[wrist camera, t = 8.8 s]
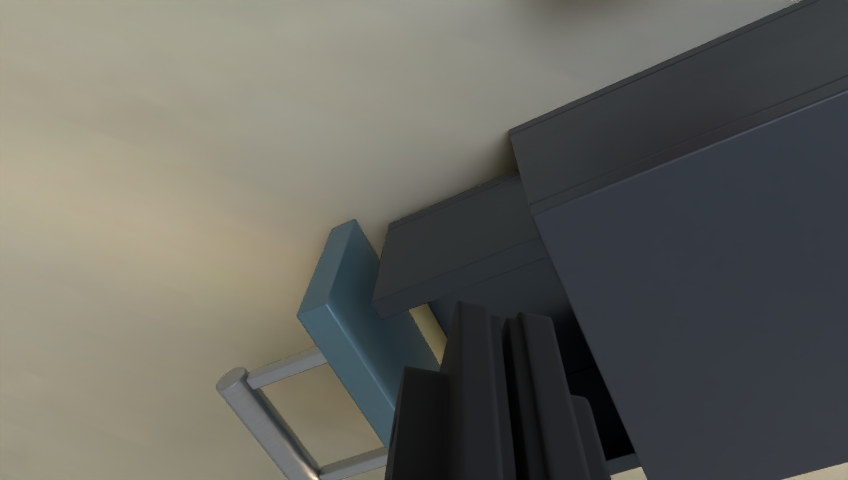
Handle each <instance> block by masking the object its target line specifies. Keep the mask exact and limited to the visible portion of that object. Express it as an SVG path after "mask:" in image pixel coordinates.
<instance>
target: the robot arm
mask: <svg viewBox="0 0 848 480" xmlns="http://www.w3.org/2000/svg"><path fill="white" fill-rule="evenodd" d="M385 480H611V477H610V474H609V470H608V466H607V463H606V459H605V456H604V452H603V449H602V445H601V442H600V438H599V434H598V431H597V427H596V424H595V420H594V417H593V413H592V410H591V406H590V404H589V402H588V400H587V399H586V398H585V397H581V396H575V395H570V392H569V388H568V384H567V379H566V375H565V371H564V367H563V363H562V359H561V355H560V351H559V347H558V343H557V339H556V334H555V330H554V326H553V322H552V319H551V318H550V317H548V316H542V315H536V314H531V313H525V312H519V313H518V314H517V316H516V319H513V318H508V317H507V318H506V320H505V322H504V325H503V328H502V331H500V322H499V316H496V315H491V314H489V307H488V306H486V305H481V304H475V303H470V302H464V301H457V303H456V306H455V310H454V314H453V318H452V322H451V326H450V330H449V334H448V338H447V342H446V347H445V351H444V355H443V359H442V363H441V367H440V371H439V372H438V371H432V370H426V369H420V368H415V367H409V366H404V369H403V373H402V378H401V382H400V387H399V392H398V397H397V402H396V407H395V412H394V418H393V424H392V430H391V436H390V443H389V450H388V458H387V465H386V473H385Z"/></svg>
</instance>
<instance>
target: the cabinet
mask: <svg viewBox="0 0 848 480" xmlns="http://www.w3.org/2000/svg"><path fill="white" fill-rule="evenodd" d="M509 134H510V138H511V142H512V146H513V149H514V153H515V157H516V161H517V165H518V168H519V172H520V176H521V180H522V184H523V187H524V191H525V195H526V199H527V203H528V206H529V210H530V214H531V218H532V220H533V222H534V224H535V227H536V229H537V231H538V233H539V236H540V238H541V240H542V242H543V245H544V247H545V249H546V252H547V254H548V256H549V258H550V261H551V263H552V265H553V267H554V270H555V272H556V274H557V276H558V279H559V281H560V283H561V285H562V288H563V290H564V292H565V294H566V297H567V299H568V301H569V304H570V306H571V308H572V310H573V313H574V315H575V317H576V319H577V322H578V324H579V326H580V328H581V331H582V333H583V335H584V337H585V340H586V342H587V344H588V346H589V349H590V351H591V353H592V356H593V358H594V360H595V362H596V365H597V367H598V369H599V371H600V374H601V376H602V378H603V380H604V383H605V385H606V387H607V389H608V392H609V394H610V396H611V398H612V401H613V403H614V405H615V408H616V410H617V412H618V414H619V417H620V419H621V421H622V423H623V426H624V428H625V430H626V432H627V435H628V437H629V439H630V441H631V444H632V446H633V448H634V450H635V453H636V455H637V457H638V460H639V462H640V464H641V466H642V469H643V471H644V473H645V475H646V478H647V480H782V479H786V478H790V477H793V476H797V475H801V474H805V473H808V472H812V471H816V470H820V469H824V468H827V467H831V466H835V465H839V464H842V463H846V462H848V0H803V1H801V2H799V3H796V4H794V5H792V6H790V7H787V8H785V9H783V10H781V11H778V12H776V13H774V14H771V15H769V16H767V17H765V18H762V19H760V20H758V21H756V22H753V23H751V24H749V25H747V26H744V27H742V28H740V29H737V30H735V31H733V32H731V33H728V34H726V35H724V36H722V37H719V38H717V39H715V40H712V41H710V42H708V43H706V44H703V45H701V46H699V47H697V48H694V49H692V50H690V51H688V52H685V53H683V54H681V55H678V56H676V57H674V58H672V59H669V60H667V61H665V62H663V63H660V64H658V65H656V66H654V67H651V68H649V69H647V70H644V71H642V72H640V73H638V74H635V75H633V76H631V77H629V78H626V79H624V80H622V81H619V82H617V83H615V84H613V85H610V86H608V87H606V88H604V89H601V90H599V91H597V92H595V93H592V94H590V95H588V96H585V97H583V98H581V99H579V100H576V101H574V102H572V103H570V104H567V105H565V106H563V107H560V108H558V109H556V110H554V111H551V112H549V113H547V114H545V115H542V116H540V117H538V118H536V119H533V120H531V121H529V122H526V123H524V124H522V125H520V126H517V127H515V128H513V129H511V130H509Z"/></svg>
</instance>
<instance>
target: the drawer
mask: <svg viewBox="0 0 848 480" xmlns="http://www.w3.org/2000/svg"><path fill="white" fill-rule="evenodd" d="M457 301H464V302H470V303H475V304H481V305H486V306H488V307H489V314H491V315H496V316H499V322H500V331H502V328H503V325H504V322H505V320H506V318H507V317H508V318H513V319H516V316H517V314H518V313H519V312H525V313H531V314H536V315H542V316H548V317H550V318H551V319H552V322H553V326H554V330H555V334H556V339H557V343H558V347H559V351H560V355H561V359H562V363H563V367H564V371H565V375H566V379H567V384H568V388H569V392H570V395H575V396H581V397H585V398H586V399H587V400H588V402H589V404H590V406H591V410H592V413H593V417H594V420H595V424H596V427H597V431H598V434H599V438H600V442H601V445H602V449H603V452H604V456H605V459H606V463H607V466H608V470H609V474H610V475H613V474H617V473H620V472H624V471H627V470H631V469H634V468H638V467H641V464H640V462H639V460H638V457H637V455H636V453H635V450H634V448H633V446H632V444H631V441H630V439H629V437H628V435H627V432H626V430H625V428H624V426H623V423H622V421H621V419H620V417H619V414H618V412H617V410H616V408H615V405H614V403H613V401H612V398H611V396H610V394H609V392H608V389H607V387H606V385H605V383H604V380H603V378H602V376H601V374H600V371H599V369H598V367H597V365H596V362H595V360H594V358H593V356H592V353H591V351H590V349H589V346H588V344H587V342H586V340H585V337H584V335H583V333H582V331H581V328H580V326H579V324H578V322H577V319H576V317H575V315H574V313H573V310H572V308H571V306H570V304H569V301H568V299H567V297H566V294H565V292H564V290H563V288H562V285H561V283H560V281H559V279H558V276H557V274H556V272H555V270H554V267H553V265H552V263H551V261H550V258H549V256H548V254H547V252H546V249H545V247H544V245H543V242H542V240H541V238H540V236H539V233H538V231H537V229H536V227H535V224H534V222H533V220H532V218H531V214H530V210H529V206H528V203H527V199H526V195H525V191H524V187H523V184H522V180H521V176H520V172H519V169H517V170H515V171H513V172H510V173H508V174H506V175H503V176H501V177H498V178H496V179H494V180H491V181H489V182H487V183H484V184H482V185H480V186H477V187H475V188H472V189H470V190H468V191H465V192H463V193H461V194H458V195H456V196H454V197H451V198H449V199H446V200H444V201H442V202H439V203H437V204H435V205H432V206H430V207H427V208H425V209H423V210H420V211H418V212H416V213H413V214H411V215H409V216H406V217H404V218H401V219H399V220H397V221H394V222H392V223H390V224H389V226H388V231H387V234H386V238H385V243H384V247H383V251H382V256H381V260H380V261H379V259H378V257H377V255H376V254H375V252H374V250H373V249H372V247H371V245H370V243H369V242H368V240H367V238H366V237H365V235H364V233H363V231H362V230H361V228H360V226H359V225H358V223H357V221H356V220H355V219H354V220H352V221H349V222H347V223H345V224H342V225H340V226H338V227H335V228H333V229H332V231H331V233H330V235H329V238H328V240H327V243H326V245H325V248H324V250H323V252H322V255H321V257H320V260H319V262H318V264H317V267H316V269H315V272H314V274H313V277H312V279H311V281H310V284H309V286H308V289H307V291H306V293H305V296H304V298H303V301H302V303H301V306H300V308H299V310H298V313H297V317H298V319H299V320H300V322H301V323H302V325H303V326H304V328H305V329H306V331H307V332H308V333H309V335H310V336H311V338H312V339H313V341H314V342H315V344H316V345H317V346H316V347H313V348H310V349H308V350H305V351H303V352H300V353H297V354H295V355H292V356H289V357H287V358H284V359H282V360H279V361H276V362H274V363H271V364H268V365H266V366H263V367H261V368H258V369H255V370H253V371H250V372H248V371H247V369H246V368H245V367H242V366H240V367H236V368H234V369H232V370H230V371H229V372H227V373H226V374H225V375H223V376H222V377H221V379H220V380H219V381H218V383H217V385H216V389H217V391H218V392H219V393H220V395H221V396H222V397H223V398H224V400H225V401H226V402H227V403H228V405H229V406H230V407H231V408H232V410H233V411H234V412H235V413H236V415H237V416H238V417H239V418H240V420H241V421H242V422H243V423H244V425H245V426H246V427H247V429H248V430H249V431H250V432H251V434H252V435H253V436H254V437H255V439H256V440H257V441H258V442H259V444H260V445H261V446H262V447H263V449H264V450H265V451H266V452H267V454H268V455H269V456H270V457H271V459H272V460H273V461H274V462H275V464H276V465H277V466H278V467H279V469H280V470H281V471H282V472H283V474H284V475H285V476H286V477H287V479H288V480H341V479H345V478H348V477H351V476H354V475H357V474H360V473H363V472H367V471H370V470H373V469H376V468H379V467H382V466H386V465H387V458H388V450H389V443H390V436H391V430H392V424H393V418H394V412H395V407H396V402H397V397H398V392H399V387H400V382H401V378H402V373H403V369H404V366H409V367H415V368H420V369H426V370H432V371H438V372H439V371H440V367H441V366H440V364H439V362H438V360H437V359H436V357H435V355H434V354H433V352H432V350H431V348H430V347H429V345H428V343H427V342H426V340H425V338H424V336H423V335H422V333H421V331H420V329H419V328H418V326H417V324H416V323H415V321H414V319H413V317H412V316H411V314H410V312H409V311H408V310H409V309H412V308H414V307H417V306H420V305H422V304H425V303H428V305H429V307H430V309H431V310H432V312H433V314H434V316H435V318H436V319H437V321H438V323H439V325H440V326H441V328H442V330H443V332H444V334H445V335H446V337H447V338H448V334H449V330H450V326H451V322H452V318H453V314H454V310H455V306H456V303H457ZM327 362H328V363H329V364H330V366H331V367H332V369H333V370H334V372H335V373H336V375H337V376H338V378H339V379H340V381H341V382H342V384H343V385H344V386H345V388H346V389H347V391H348V392H349V394H350V395H351V397H352V398H353V400H354V401H355V403H356V404H357V406H358V407H359V409H360V410H361V412H362V413H363V414H364V416H365V417H366V419H367V420H368V422H369V423H370V425H371V426H372V428H373V429H374V431H375V432H376V434H377V435H378V437H379V438H380V439H381V441H382V442H383V444H384V445H385V446H384V447H381V448H378V449H375V450H372V451H368V452H365V453H362V454H359V455H356V456H353V457H350V458H347V459H344V460H341V461H338V462H335V463H332V464H329V465H325V466H322V467H320V466H319V465H318V463H317V462H316V461H315V459H314V458H313V457H312V455H311V454H310V453H309V451H308V450H307V449H306V447H305V446H304V445H303V443H302V442H301V441H300V440H299V438H298V437H297V436H296V434H295V433H294V432H293V430H292V429H291V428H290V426H289V425H288V424H287V422H286V421H285V420H284V418H283V417H282V416H281V414H280V413H279V412H278V410H277V409H276V408H275V406H274V405H273V404H272V402H271V401H270V400H269V399H268V397H267V396H266V395H265V393H264V392H263V391H262V389H261V388H260V387H263V386H265V385H268V384H271V383H273V382H276V381H279V380H281V379H284V378H287V377H290V376H292V375H295V374H298V373H300V372H303V371H306V370H308V369H311V368H314V367H316V366H319V365H322V364H325V363H327Z"/></svg>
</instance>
